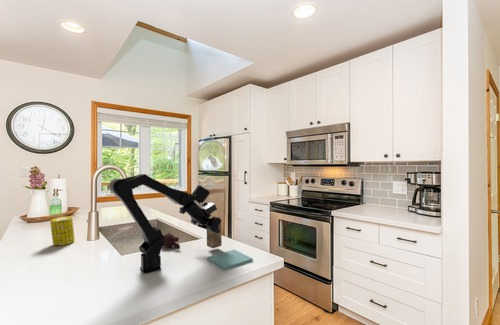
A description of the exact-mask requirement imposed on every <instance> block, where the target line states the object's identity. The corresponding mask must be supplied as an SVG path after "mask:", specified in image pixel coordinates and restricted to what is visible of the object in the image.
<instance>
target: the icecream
mask: <svg viewBox="0 0 500 325" xmlns="http://www.w3.org/2000/svg"><path fill="white" fill-rule="evenodd" d="M163 236H165V237H164V240H165V243H164V246H163V247H164V248H171V247H172V246H173V247H175V248H176V249H179V248H180V247H181V246H180V244H179V243H177V242H179V240H180V238H179V237H178V236H175V235H173V233H170V232H168V233H165V234H163ZM168 246H169V247H168ZM163 247H162V248H163Z"/></svg>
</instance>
